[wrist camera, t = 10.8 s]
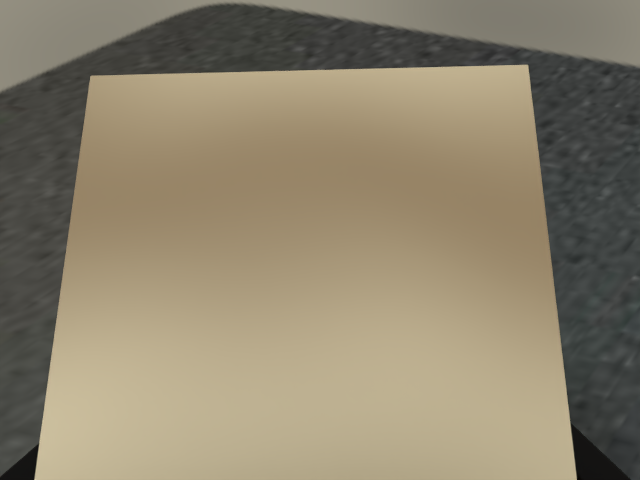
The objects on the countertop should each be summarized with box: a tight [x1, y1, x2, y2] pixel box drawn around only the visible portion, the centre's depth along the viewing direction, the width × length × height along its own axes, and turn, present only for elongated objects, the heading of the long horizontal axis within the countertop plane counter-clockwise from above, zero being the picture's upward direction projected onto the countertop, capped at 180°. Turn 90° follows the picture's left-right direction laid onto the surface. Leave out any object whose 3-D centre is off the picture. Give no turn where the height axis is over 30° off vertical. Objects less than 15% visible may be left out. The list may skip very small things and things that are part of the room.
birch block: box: [34, 65, 577, 480], centre depth 11 cm, size 6×6×12 cm
